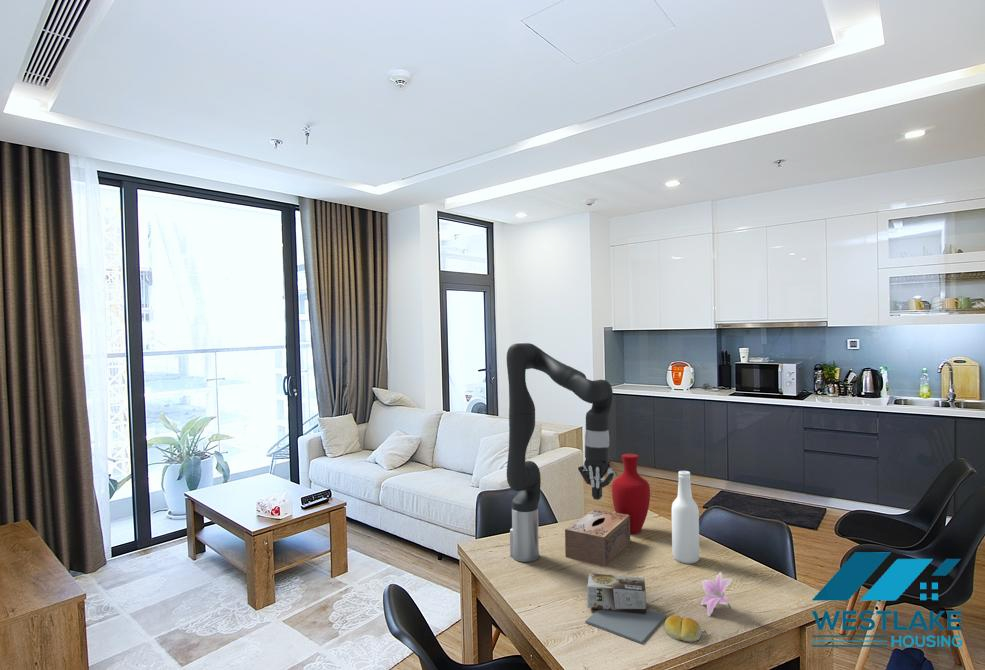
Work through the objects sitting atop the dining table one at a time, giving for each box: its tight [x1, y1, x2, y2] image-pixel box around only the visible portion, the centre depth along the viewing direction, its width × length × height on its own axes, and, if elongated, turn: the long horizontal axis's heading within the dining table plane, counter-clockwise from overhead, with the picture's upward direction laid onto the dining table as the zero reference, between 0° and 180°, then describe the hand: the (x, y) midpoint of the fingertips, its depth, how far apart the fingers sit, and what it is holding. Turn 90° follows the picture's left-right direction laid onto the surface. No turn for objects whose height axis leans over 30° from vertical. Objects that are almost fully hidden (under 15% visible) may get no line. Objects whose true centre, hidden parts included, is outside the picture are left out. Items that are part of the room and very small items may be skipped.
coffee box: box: [587, 573, 648, 614], centre depth 152 cm, size 9×6×16 cm
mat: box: [585, 608, 667, 645], centre depth 145 cm, size 16×16×1 cm
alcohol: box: [671, 470, 700, 565], centre depth 183 cm, size 9×9×30 cm
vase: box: [611, 453, 651, 535], centre depth 210 cm, size 15×15×30 cm
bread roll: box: [663, 614, 702, 643], centre depth 138 cm, size 8×9×4 cm
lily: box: [700, 571, 733, 617], centre depth 150 cm, size 12×12×10 cm
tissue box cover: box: [564, 508, 631, 567], centre depth 193 cm, size 26×14×10 cm, turn 146°
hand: (597, 498), depth 166 cm, fingers closed
